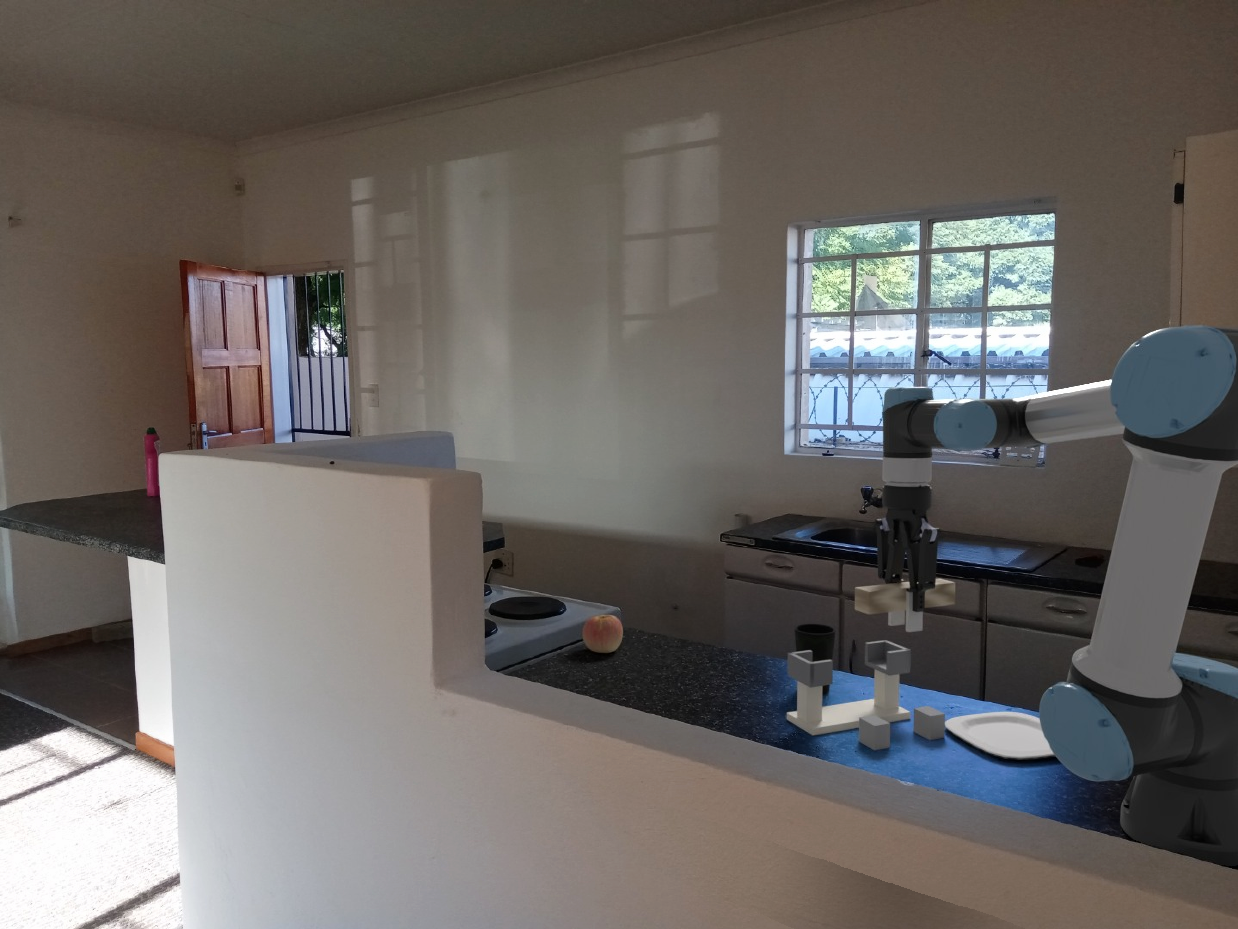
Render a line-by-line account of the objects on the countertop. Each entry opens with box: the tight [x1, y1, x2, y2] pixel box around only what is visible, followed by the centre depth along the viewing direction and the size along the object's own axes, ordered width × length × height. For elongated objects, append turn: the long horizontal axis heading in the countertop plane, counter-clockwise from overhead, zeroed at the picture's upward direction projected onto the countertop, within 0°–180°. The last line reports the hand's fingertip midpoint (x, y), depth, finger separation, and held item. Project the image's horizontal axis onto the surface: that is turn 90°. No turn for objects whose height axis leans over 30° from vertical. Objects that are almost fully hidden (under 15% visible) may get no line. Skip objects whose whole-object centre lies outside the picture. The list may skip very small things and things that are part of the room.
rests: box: [858, 705, 946, 751], centre depth 148 cm, size 4×14×4 cm, turn 112°
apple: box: [582, 614, 624, 654], centre depth 198 cm, size 9×9×8 cm
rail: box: [854, 578, 956, 615], centre depth 146 cm, size 17×4×4 cm, turn 112°
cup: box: [793, 623, 837, 696], centre depth 171 cm, size 8×8×12 cm
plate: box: [945, 711, 1056, 761], centre depth 147 cm, size 18×18×2 cm
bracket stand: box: [786, 639, 912, 736], centre depth 156 cm, size 8×21×12 cm, turn 112°
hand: (905, 627), depth 146 cm, fingers closed on rail, 4 cm apart
